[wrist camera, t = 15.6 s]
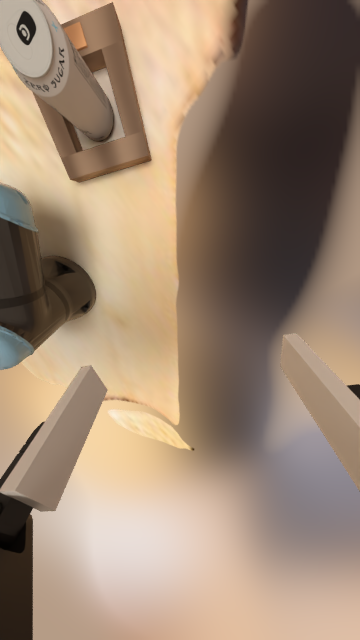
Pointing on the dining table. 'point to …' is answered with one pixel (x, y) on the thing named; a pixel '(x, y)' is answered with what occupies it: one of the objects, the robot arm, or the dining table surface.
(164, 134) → the dining table surface
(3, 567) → the robot arm
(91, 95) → the energy drink can
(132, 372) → the dining table surface
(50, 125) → the frame
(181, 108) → the dining table surface
